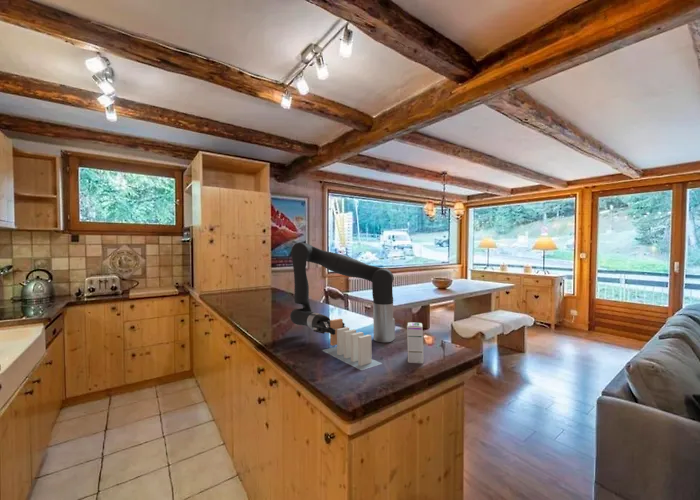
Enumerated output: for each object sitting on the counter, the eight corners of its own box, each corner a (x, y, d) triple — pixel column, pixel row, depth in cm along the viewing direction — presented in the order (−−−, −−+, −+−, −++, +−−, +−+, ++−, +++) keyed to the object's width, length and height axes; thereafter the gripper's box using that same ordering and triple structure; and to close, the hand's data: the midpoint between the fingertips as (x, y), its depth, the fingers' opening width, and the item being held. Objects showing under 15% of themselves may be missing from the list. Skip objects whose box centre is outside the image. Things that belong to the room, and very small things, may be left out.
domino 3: (354, 354, 120) (353, 329, 120) (356, 355, 119) (356, 330, 118) (343, 357, 117) (343, 331, 117) (346, 358, 116) (345, 332, 115)
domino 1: (340, 342, 127) (340, 318, 127) (342, 343, 126) (342, 319, 126) (330, 344, 124) (330, 320, 124) (332, 345, 123) (332, 321, 123)
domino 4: (361, 357, 116) (360, 331, 116) (363, 359, 115) (363, 332, 115) (350, 360, 113) (350, 334, 113) (353, 362, 112) (353, 335, 112)
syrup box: (423, 366, 110) (423, 326, 110) (407, 365, 111) (406, 325, 111) (423, 360, 116) (422, 322, 116) (407, 359, 117) (407, 321, 117)
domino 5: (368, 361, 113) (368, 334, 113) (371, 362, 111) (371, 335, 111) (358, 364, 110) (358, 336, 110) (361, 365, 108) (360, 337, 108)
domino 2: (347, 351, 123) (347, 326, 123) (349, 352, 122) (349, 327, 122) (337, 354, 120) (336, 329, 120) (339, 355, 119) (339, 329, 119)
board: (341, 347, 131) (341, 345, 131) (382, 366, 110) (382, 363, 110) (321, 352, 125) (321, 350, 125) (361, 373, 104) (361, 370, 104)
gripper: (304, 316, 132) (325, 324, 118) (331, 312, 141) (354, 319, 127) (304, 333, 132) (325, 343, 118) (331, 328, 141) (354, 336, 127)
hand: (340, 330), depth 123 cm, fingers closed on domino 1, 5 cm apart
